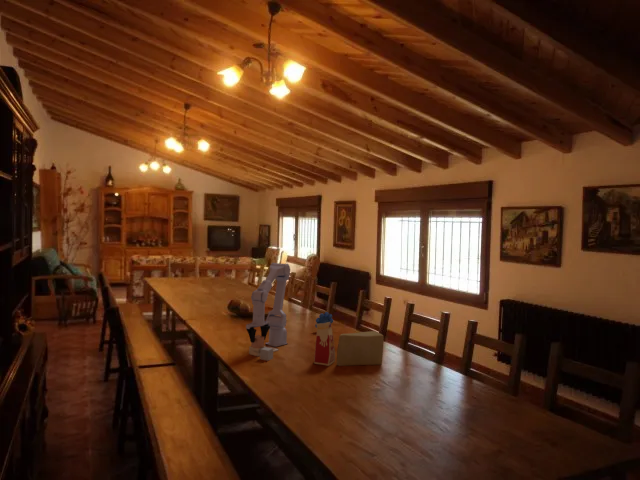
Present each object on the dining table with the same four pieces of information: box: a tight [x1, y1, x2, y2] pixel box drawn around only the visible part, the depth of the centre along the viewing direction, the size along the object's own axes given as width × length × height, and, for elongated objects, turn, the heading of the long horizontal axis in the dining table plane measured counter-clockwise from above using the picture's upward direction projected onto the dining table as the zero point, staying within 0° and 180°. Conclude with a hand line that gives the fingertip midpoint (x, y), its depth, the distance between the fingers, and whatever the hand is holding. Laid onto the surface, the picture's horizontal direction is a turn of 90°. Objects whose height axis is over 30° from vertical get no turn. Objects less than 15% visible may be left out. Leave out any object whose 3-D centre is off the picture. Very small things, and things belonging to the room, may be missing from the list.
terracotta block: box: [250, 334, 265, 348], centre depth 243 cm, size 4×4×5 cm
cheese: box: [336, 330, 385, 367], centre depth 233 cm, size 22×10×15 cm, turn 111°
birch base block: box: [248, 345, 267, 357], centre depth 243 cm, size 6×6×4 cm
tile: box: [267, 346, 279, 353], centre depth 251 cm, size 7×7×1 cm
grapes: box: [314, 311, 334, 329], centre depth 296 cm, size 12×7×12 cm, turn 110°
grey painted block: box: [259, 346, 274, 362], centre depth 236 cm, size 4×4×5 cm
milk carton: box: [313, 322, 336, 367], centre depth 234 cm, size 9×9×20 cm
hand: (257, 340), depth 243 cm, fingers open, 7 cm apart
